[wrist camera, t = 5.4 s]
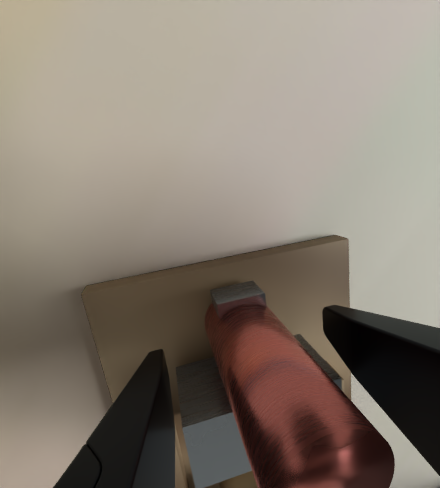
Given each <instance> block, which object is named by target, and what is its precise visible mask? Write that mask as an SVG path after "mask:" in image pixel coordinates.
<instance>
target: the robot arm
mask: <svg viewBox="0 0 440 488" xmlns="http://www.w3.org/2000/svg"><path fill="white" fill-rule="evenodd" d="M322 319H323V331H324V334H325V336H326V338H327V339H328V340H329V342H330V343H331V345H332V346H333V348H334V349H335V350H336V352H337V353H338V355H339V356H340V358H341V359H342V360H343V362H344V363H345V365H346V366H347V367H348V369H349V370H350V372H351V373H352V374H353V375H354V377H355V378H356V379H357V380H358V381H359V383H360V384H361V385H362V386H363V387H364V388H365V390H366V391H367V392H368V393H369V394H370V395H371V397H372V398H373V399H374V400H375V401H376V402H377V404H378V405H379V406H380V407H381V408H382V409H383V411H384V412H385V413H386V414H387V415H388V416H389V418H390V419H391V420H392V421H393V422H394V423H395V425H396V426H397V427H398V428H399V429H400V430H401V432H402V433H403V434H404V435H405V436H406V437H407V439H408V440H409V441H410V442H411V443H412V444H413V446H414V447H415V448H416V449H417V450H418V451H419V453H420V454H421V455H422V456H423V457H424V458H425V460H426V461H427V462H428V463H429V464H430V465H431V467H432V468H433V469H434V470H435V471H436V472H437V474H438V475H439V476H440V328H436V327H432V326H428V325H423V324H419V323H414V322H410V321H405V320H401V319H396V318H392V317H388V316H383V315H379V314H374V313H370V312H365V311H361V310H356V309H352V308H348V307H343V306H339V305H330V306H327V307H324V308H323V310H322ZM53 488H175V423H174V413H173V405H172V396H171V388H170V379H169V373H168V368H167V364H166V359H165V354H164V351H163V349H158V350H154V351H150V352H149V353H148V354H147V356H146V357H145V359H144V360H143V361H142V363H141V364H140V366H139V367H138V369H137V370H136V371H135V373H134V374H133V376H132V377H131V379H130V380H129V381H128V383H127V384H126V386H125V387H124V389H123V390H122V391H121V393H120V394H119V396H118V397H117V399H116V400H115V401H114V403H113V404H112V406H111V407H110V409H109V410H108V411H107V413H106V414H105V416H104V417H103V419H102V420H101V421H100V423H99V424H98V426H97V427H96V429H95V430H94V432H93V433H92V434H91V436H90V437H89V439H88V440H87V442H86V444H85V445H84V446H83V447H82V448H81V450H80V451H79V453H78V454H77V456H76V457H75V458H74V460H73V461H72V463H71V464H70V465H69V467H68V468H67V469H66V471H65V472H64V474H63V475H62V476H61V478H60V479H59V480H58V482H57V483H56V484H55V486H54V487H53Z"/></svg>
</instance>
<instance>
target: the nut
mask: <svg viewBox="0 0 440 488" xmlns="http://www.w3.org/2000/svg"><path fill="white" fill-rule="evenodd" d="M220 488H258V487H257V484H256V481H255V478H254V475H253V472H252V471H250V472H247V473H244V474H241V475H238V476H236V477H233V478H230V479H227V480H224V481H222V482H220Z"/></svg>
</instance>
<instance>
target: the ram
mask: <svg viewBox="0 0 440 488" xmlns="http://www.w3.org/2000/svg"><path fill="white" fill-rule="evenodd" d="M210 294H211V300H212V304H211V305H210V306H209V308H208V310H207V312H206V315H205V322H204V324H205V330H206V334H207V337H208V340H209V343H210V346H211V349H212V352H213V355H214V357H212V358H208V359H204V360H201V361H197V362H193V363H189V364H186V365H182V366H178V367H176V376H177V385H178V394H179V403H180V412H181V421H182V429H183V434H184V438H185V443H186V448H187V452H188V457H189V461H190V466H191V470H192V475H193V480H194V484H195V488H205V487H208V486H210V485H213V484H216V483H219V482H222V481H224V480H227V479H230V478H233V477H236V476H238V475H241V474H244V473H247V472H250V471H252V472H253V475H254V478H255V481H256V484H257V487H258V488H389V486H390V484H391V481H392V478H393V474H394V466H395V463H394V455H393V451H392V449H391V447H390V445H389V444H388V442H387V441H386V440H385V439H384V438H383V436H382V435H381V434H380V433H379V432H378V431H377V430H376V429H375V427H374V426H373V425H372V424H371V423H370V422H369V421H368V420H367V418H366V417H365V416H364V415H363V414H362V413H361V412H360V410H359V409H358V408H357V407H356V406H355V405H354V404H353V403H352V401H351V400H350V399H349V398H348V397H347V396H346V395H345V393H344V392H343V391H342V378H341V377H340V376H339V375H338V374H337V373H336V372H335V371H334V370H333V369H332V368H331V366H330V365H329V364H328V363H327V362H326V361H325V360H324V359H323V358H322V357H321V356H320V355H319V354H318V353H317V352H316V350H315V349H314V348H313V347H312V346H311V345H310V344H309V343H308V342H307V341H306V340H305V339H304V338H303V337H302V335H301V334H297V335H292V333H291V332H290V331H289V330H288V329H287V328H286V327H285V326H284V324H283V323H282V322H281V321H280V320H279V319H278V318H277V316H276V315H275V314H274V313H273V312H272V311H271V310H270V309H269V307H268V306H267V305H266V297H265V293H264V292H263V291H262V290H261V289H260V288H259V287H258V285H257V284H256V283H255V282H254V281H253V280H252V281H248V282H243V283H239V284H234V285H230V286H225V287H221V288H217V289H212V290H210Z"/></svg>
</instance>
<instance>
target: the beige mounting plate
mask: <svg viewBox="0 0 440 488" xmlns="http://www.w3.org/2000/svg"><path fill="white" fill-rule="evenodd" d="M252 280H253V281H254V282H255V283H256V284H257V285H258V287H259V288H260V289H261V290H262V291H263V292H264V293H265V297H266V305H267V306H268V307H269V309H270V310H271V311H272V312H273V313H274V314H275V315H276V316H277V318H278V319H279V320H280V321H281V322H282V323H283V324H284V326H285V327H286V328H287V329H288V330H289V331H290V332H291V333H292V335H297V334H301V335H302V337H303V338H304V339H305V340H306V341H307V342H308V343H309V344H310V345H311V346H312V347H313V348H314V349H315V350H316V352H317V353H318V354H319V355H320V356H321V357H322V358H323V359H324V360H325V361H326V362H327V363H328V364H329V365H330V366H331V368H332V369H333V370H334V371H335V372H336V373H337V374H338V375H339V376H340V377H341V378H342V391H343V392H344V393H345V395H346V396H347V397H348V398H349V399H350V400H351V372H350V370H349V369H348V367H347V366H346V365H345V363H344V362H343V360H342V359H341V358H340V356H339V355H338V353H337V352H336V350H335V349H334V348H333V346H332V345H331V343H330V342H329V340H328V339H327V338H326V336H325V334H324V331H323V319H322V310H323V308H324V307H327V306H330V305H339V306H343V307H348V308H350V302H349V242H348V239H347V238H344V237H341V236H338V235H333V236H328V237H324V238H319V239H314V240H309V241H304V242H299V243H294V244H289V245H284V246H279V247H274V248H269V249H264V250H260V251H255V252H250V253H245V254H240V255H235V256H230V257H225V258H220V259H215V260H210V261H205V262H201V263H196V264H191V265H186V266H181V267H176V268H171V269H166V270H161V271H156V272H151V273H146V274H142V275H137V276H132V277H127V278H122V279H117V280H112V281H107V282H102V283H97V284H92V285H87V286H86V287H85V289H84V291H83V292H82V294H81V296H82V300H83V303H84V307H85V310H86V314H87V317H88V320H89V324H90V327H91V331H92V334H93V338H94V341H95V344H96V348H97V351H98V355H99V358H100V361H101V365H102V368H103V372H104V375H105V379H106V382H107V385H108V389H109V392H110V396H111V399H112V402H113V403H114V401H115V400H116V399H117V397H118V396H119V394H120V393H121V391H122V390H123V389H124V387H125V386H126V384H127V383H128V381H129V380H130V379H131V377H132V376H133V374H134V373H135V371H136V370H137V369H138V367H139V366H140V364H141V363H142V361H143V360H144V359H145V357H146V356H147V354H148V353H149V352H150V351H154V350H158V349H163V351H164V354H165V359H166V364H167V368H168V373H169V379H170V388H171V396H172V405H173V413H174V423H175V488H195V484H194V480H193V475H192V470H191V466H190V461H189V457H188V452H187V448H186V443H185V438H184V434H183V429H182V421H181V412H180V403H179V394H178V385H177V376H176V367H178V366H182V365H186V364H189V363H193V362H197V361H201V360H204V359H208V358H212V357H214V355H213V352H212V349H211V346H210V343H209V340H208V337H207V334H206V330H205V324H204V322H205V315H206V312H207V310H208V308H209V306H210V305H211V304H212V300H211V294H210V290H212V289H217V288H221V287H225V286H230V285H234V284H239V283H243V282H248V281H252ZM205 488H220V482H219V483H216V484H213V485H210V486H208V487H205Z"/></svg>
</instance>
